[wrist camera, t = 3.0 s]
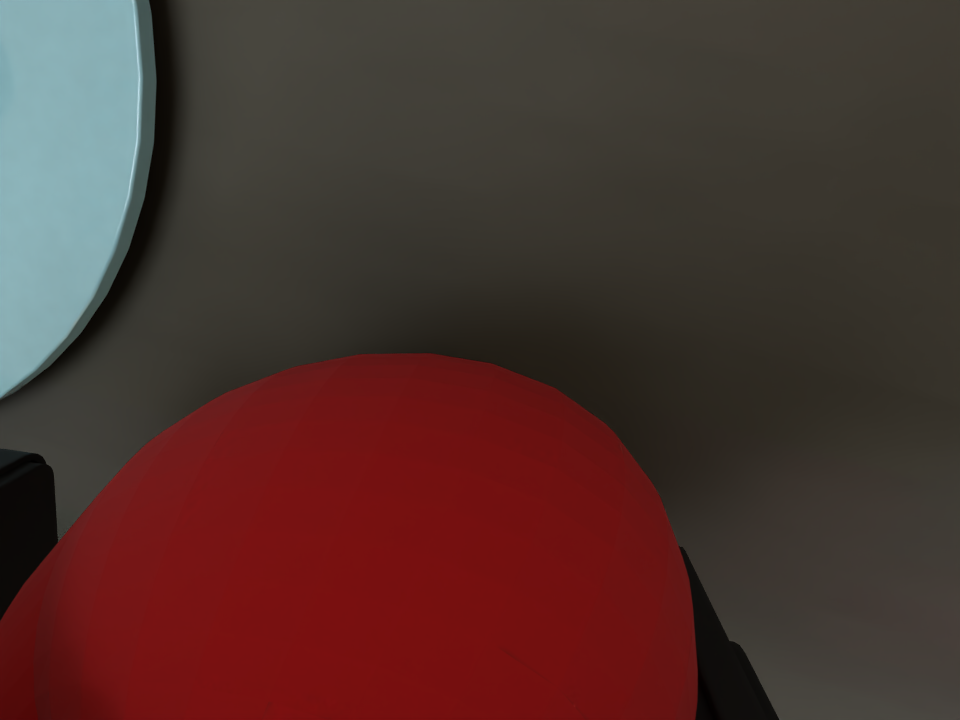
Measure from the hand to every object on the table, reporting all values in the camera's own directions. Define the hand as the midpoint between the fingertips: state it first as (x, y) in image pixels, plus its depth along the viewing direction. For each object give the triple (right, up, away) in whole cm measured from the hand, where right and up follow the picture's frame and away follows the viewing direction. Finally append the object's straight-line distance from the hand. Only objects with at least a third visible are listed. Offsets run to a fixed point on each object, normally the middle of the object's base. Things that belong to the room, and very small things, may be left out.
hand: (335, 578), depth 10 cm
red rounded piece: (+1, +1, +4) cm, 4 cm away
